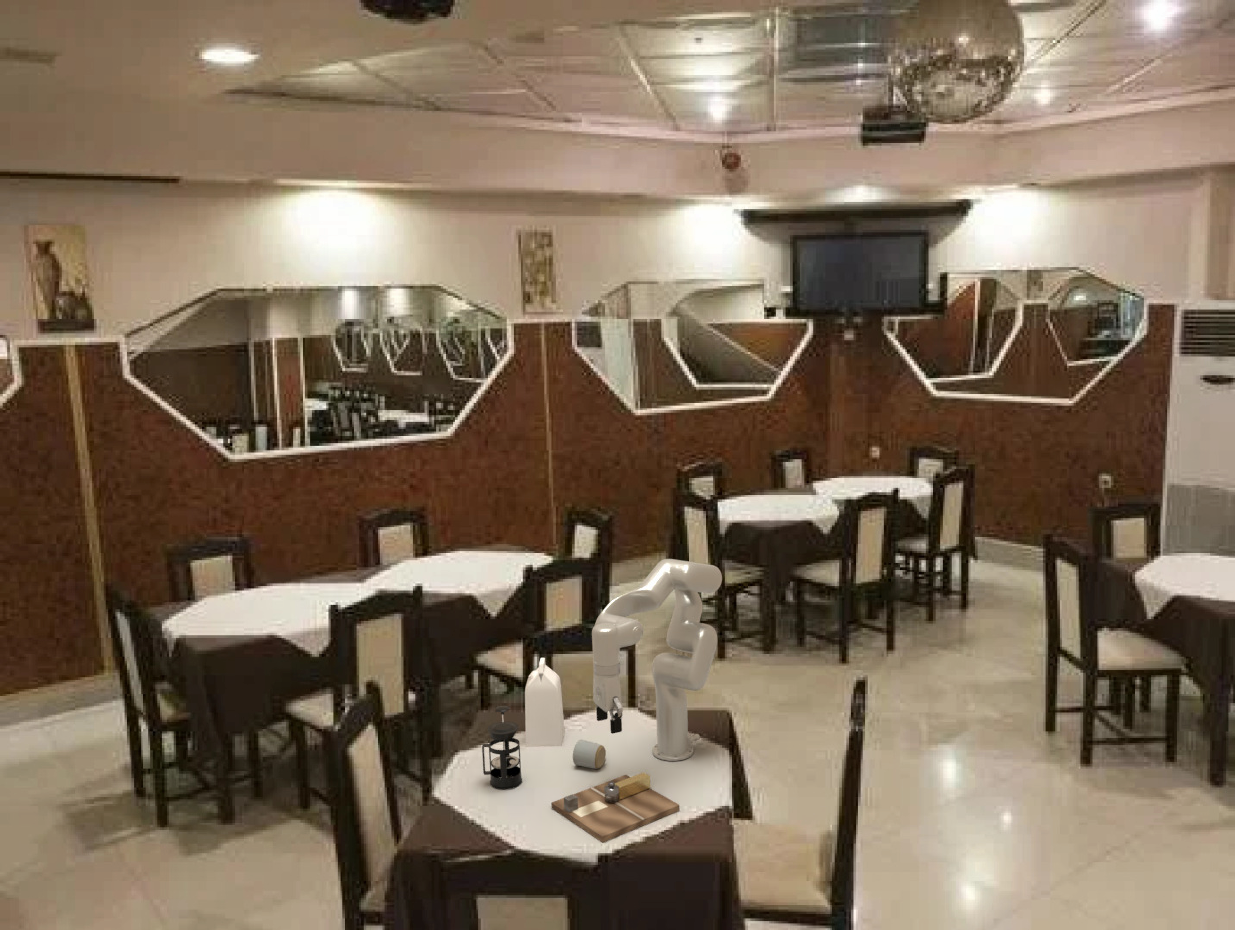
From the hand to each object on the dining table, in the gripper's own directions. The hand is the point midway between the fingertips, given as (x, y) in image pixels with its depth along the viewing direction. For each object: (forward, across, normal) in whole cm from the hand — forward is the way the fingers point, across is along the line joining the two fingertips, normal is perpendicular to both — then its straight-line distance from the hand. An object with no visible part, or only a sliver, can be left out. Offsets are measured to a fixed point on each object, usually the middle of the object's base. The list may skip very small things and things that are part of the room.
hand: (609, 725), depth 287 cm
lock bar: (+18, +7, +2) cm, 19 cm away
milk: (+20, -43, -4) cm, 48 cm away
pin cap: (+14, +8, -3) cm, 16 cm away
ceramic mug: (+20, -19, +2) cm, 28 cm away
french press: (+20, -20, -26) cm, 38 cm away
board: (+20, +10, -3) cm, 22 cm away
